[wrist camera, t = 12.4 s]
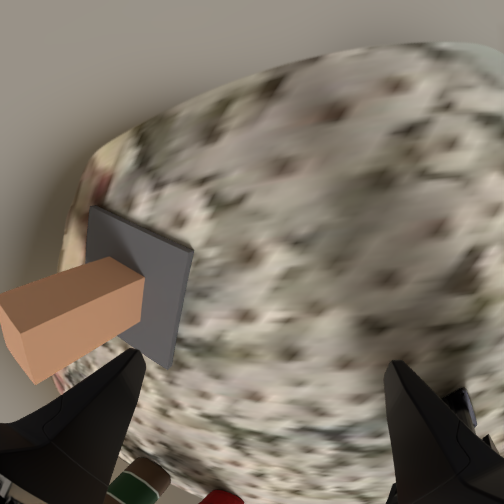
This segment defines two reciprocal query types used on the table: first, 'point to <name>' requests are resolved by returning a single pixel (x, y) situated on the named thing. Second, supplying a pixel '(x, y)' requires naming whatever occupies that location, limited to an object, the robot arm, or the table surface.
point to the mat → (156, 278)
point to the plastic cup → (221, 498)
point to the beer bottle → (138, 484)
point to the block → (69, 314)
